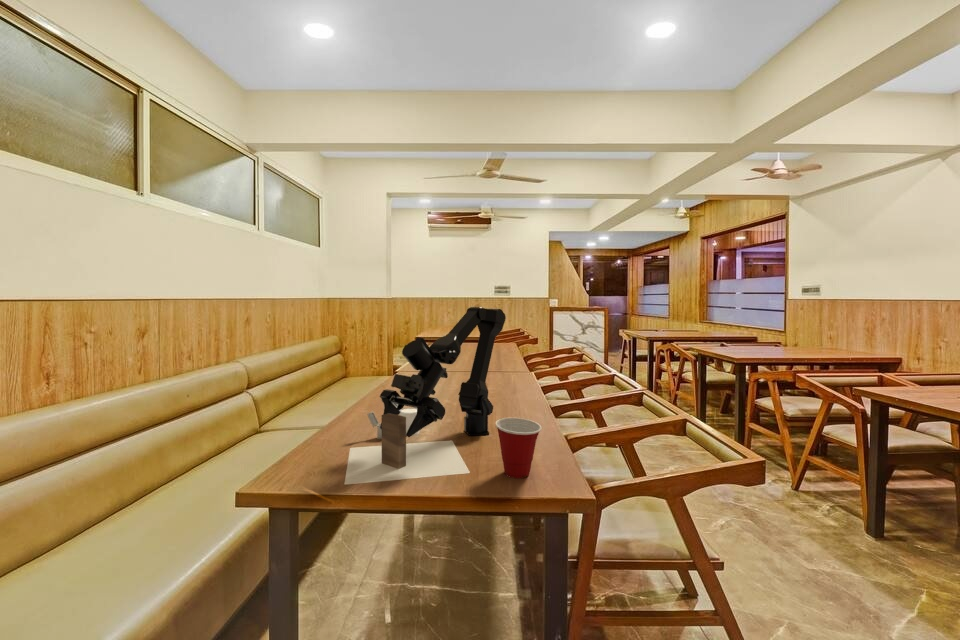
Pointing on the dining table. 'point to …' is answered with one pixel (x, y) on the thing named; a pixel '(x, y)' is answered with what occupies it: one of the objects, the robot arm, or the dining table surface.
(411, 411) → the white cylinder
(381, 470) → the mat
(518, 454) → the plastic cup
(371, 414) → the lighter
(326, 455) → the dining table surface
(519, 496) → the dining table surface
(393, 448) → the wood grain block
